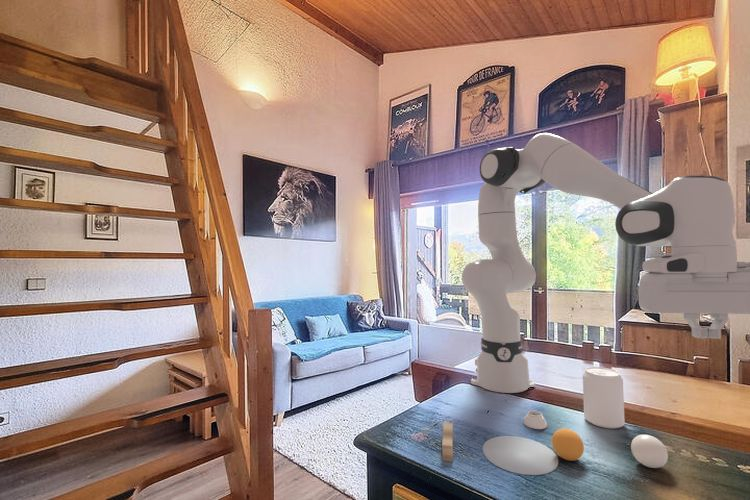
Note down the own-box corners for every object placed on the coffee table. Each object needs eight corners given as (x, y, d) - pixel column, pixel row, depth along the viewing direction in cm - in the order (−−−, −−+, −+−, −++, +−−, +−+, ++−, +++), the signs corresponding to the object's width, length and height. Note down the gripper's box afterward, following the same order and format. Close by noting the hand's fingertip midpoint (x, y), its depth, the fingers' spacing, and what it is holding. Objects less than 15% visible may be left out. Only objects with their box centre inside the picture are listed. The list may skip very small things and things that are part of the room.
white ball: (626, 456, 70) (625, 428, 71) (658, 459, 69) (656, 430, 69) (640, 472, 65) (639, 442, 65) (675, 476, 64) (674, 444, 64)
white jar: (524, 419, 88) (522, 428, 83) (524, 407, 88) (522, 415, 83) (547, 423, 85) (546, 432, 81) (546, 410, 86) (546, 419, 81)
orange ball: (549, 449, 73) (548, 422, 74) (578, 452, 72) (577, 424, 72) (556, 465, 68) (555, 435, 68) (588, 468, 67) (587, 438, 67)
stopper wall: (443, 435, 80) (443, 422, 80) (452, 436, 80) (452, 422, 80) (442, 460, 70) (442, 445, 70) (453, 461, 70) (452, 446, 70)
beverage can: (631, 431, 80) (629, 377, 80) (591, 429, 82) (589, 376, 82) (615, 416, 88) (613, 366, 88) (579, 413, 90) (577, 365, 90)
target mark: (480, 434, 80) (480, 433, 80) (547, 439, 77) (547, 438, 77) (486, 470, 67) (486, 469, 67) (568, 479, 64) (568, 477, 64)
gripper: (756, 261, 67) (760, 335, 67) (632, 262, 71) (635, 332, 71) (787, 261, 61) (791, 343, 60) (650, 263, 65) (653, 340, 65)
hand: (706, 337), depth 66 cm, fingers closed
